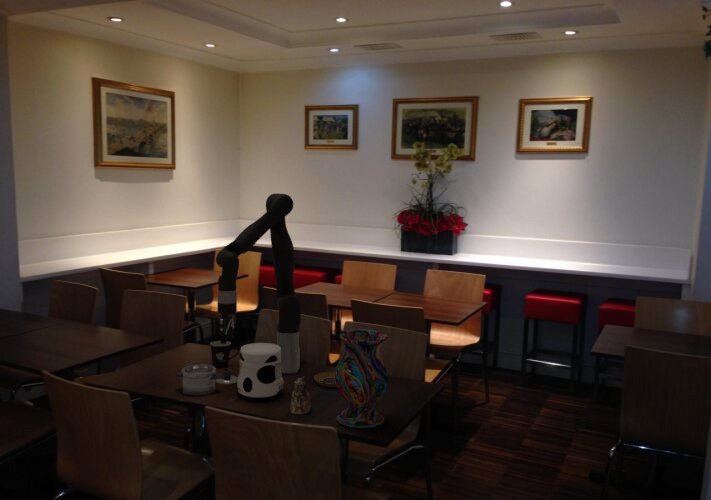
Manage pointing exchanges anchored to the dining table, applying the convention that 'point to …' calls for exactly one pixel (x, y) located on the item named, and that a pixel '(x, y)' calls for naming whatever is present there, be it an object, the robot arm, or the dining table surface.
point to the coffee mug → (221, 354)
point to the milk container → (260, 371)
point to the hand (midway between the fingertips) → (226, 340)
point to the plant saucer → (323, 376)
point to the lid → (227, 378)
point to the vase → (361, 377)
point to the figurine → (300, 397)
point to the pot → (199, 379)
